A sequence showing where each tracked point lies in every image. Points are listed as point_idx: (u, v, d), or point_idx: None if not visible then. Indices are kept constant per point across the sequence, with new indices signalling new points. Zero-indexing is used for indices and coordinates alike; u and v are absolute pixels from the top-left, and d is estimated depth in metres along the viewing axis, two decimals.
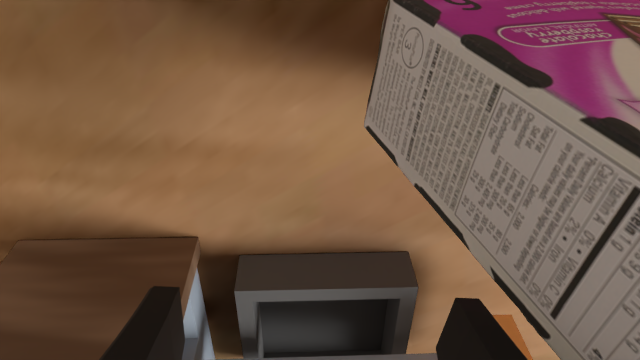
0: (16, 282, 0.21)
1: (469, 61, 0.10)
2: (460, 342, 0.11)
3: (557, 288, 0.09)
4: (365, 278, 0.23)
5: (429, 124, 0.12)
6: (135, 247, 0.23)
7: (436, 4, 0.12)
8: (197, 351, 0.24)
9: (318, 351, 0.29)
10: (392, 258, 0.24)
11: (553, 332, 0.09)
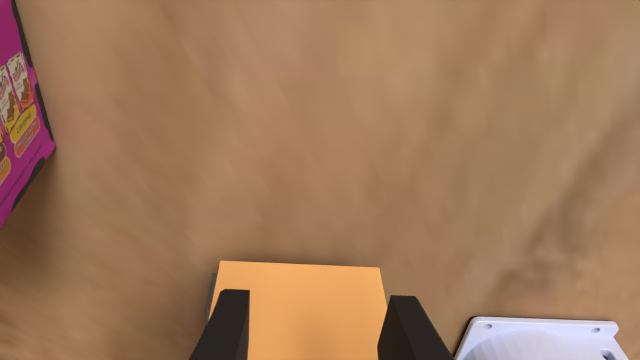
0: None
1: None
2: (393, 340, 0.11)
3: None
4: None
5: None
6: None
7: None
8: None
9: None
10: None
11: None
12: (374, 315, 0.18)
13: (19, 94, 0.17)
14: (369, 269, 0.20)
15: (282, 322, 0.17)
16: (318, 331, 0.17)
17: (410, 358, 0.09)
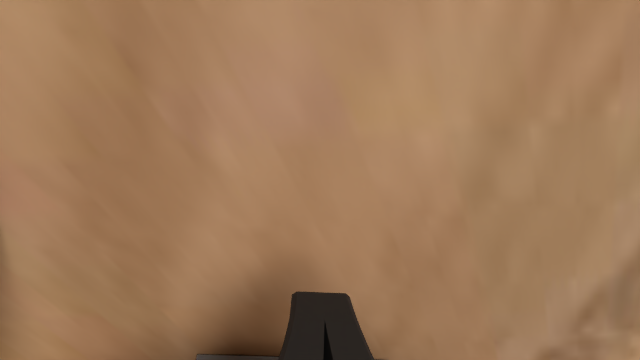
0: None
1: None
2: None
3: None
4: None
5: None
6: None
7: None
8: None
9: None
10: None
11: None
12: None
13: None
14: None
15: None
16: None
17: (329, 356, 0.09)
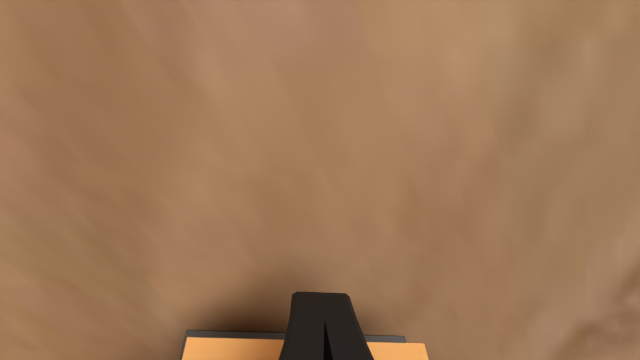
0: None
1: None
2: None
3: None
4: None
5: None
6: None
7: None
8: None
9: None
10: None
11: None
12: None
13: None
14: (410, 347, 0.14)
15: None
16: None
17: (329, 356, 0.09)
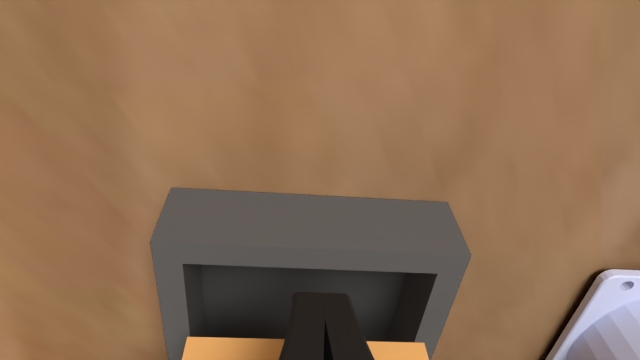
0: None
1: None
2: None
3: None
4: None
5: None
6: None
7: None
8: None
9: (397, 302, 0.18)
10: None
11: None
12: None
13: None
14: (410, 346, 0.14)
15: None
16: None
17: (329, 356, 0.09)
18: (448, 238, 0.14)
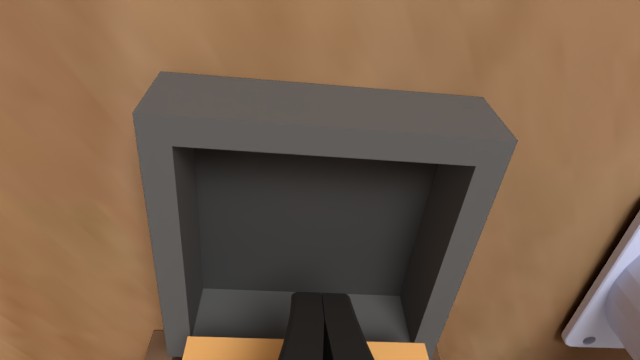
0: None
1: None
2: None
3: None
4: None
5: None
6: None
7: None
8: None
9: (419, 227, 0.15)
10: None
11: None
12: None
13: None
14: (410, 346, 0.14)
15: None
16: None
17: (329, 356, 0.09)
18: (488, 125, 0.11)
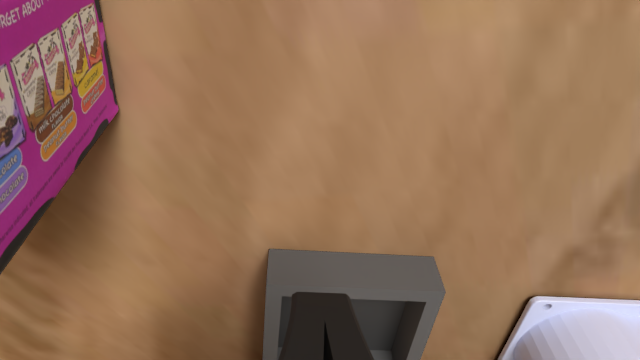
0: None
1: None
2: None
3: None
4: None
5: None
6: None
7: None
8: None
9: (402, 315, 0.27)
10: None
11: None
12: None
13: (89, 47, 0.16)
14: None
15: None
16: None
17: (329, 356, 0.09)
18: (432, 281, 0.23)
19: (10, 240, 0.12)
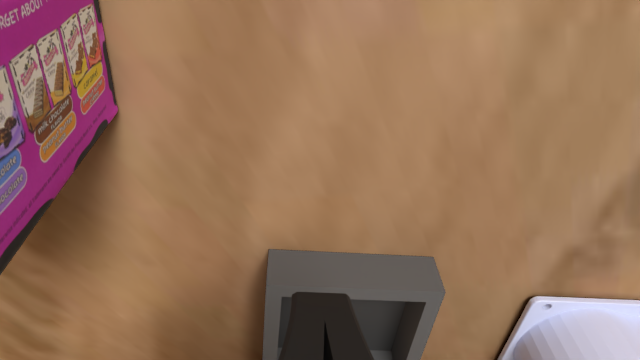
0: None
1: None
2: None
3: None
4: None
5: None
6: None
7: None
8: None
9: (402, 316, 0.27)
10: None
11: None
12: None
13: (88, 48, 0.16)
14: None
15: None
16: None
17: (329, 356, 0.09)
18: (432, 281, 0.23)
19: (9, 241, 0.12)
